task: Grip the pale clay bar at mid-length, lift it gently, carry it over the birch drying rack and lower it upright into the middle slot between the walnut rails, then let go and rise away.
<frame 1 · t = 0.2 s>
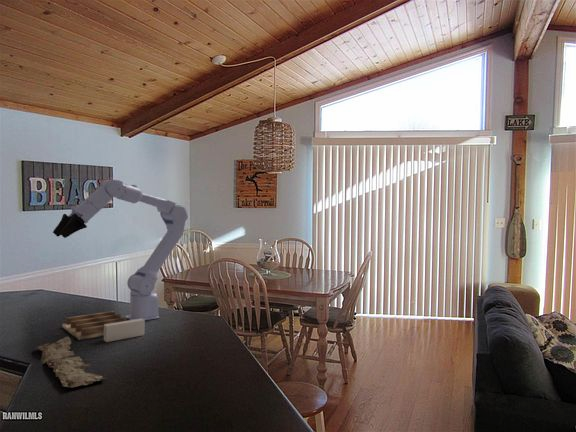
hand: (58, 235, 145), 31 cm above the kitchen island, tool tilted 45°, fingers open, 7 cm apart
clay bar: (124, 337, 144), on the kitchen island
drying rack: (99, 328, 152), on the kitchen island
rock fragment: (66, 367, 120), on the kitchen island
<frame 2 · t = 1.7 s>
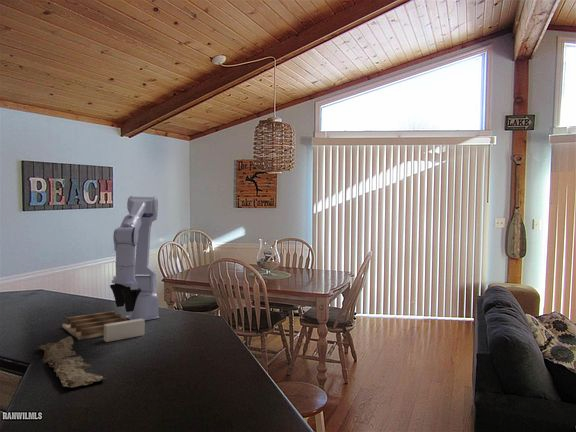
hand: (124, 308, 143), 9 cm above the kitchen island, tool pointing down, fingers open, 7 cm apart
nothing on the kitchen island moved.
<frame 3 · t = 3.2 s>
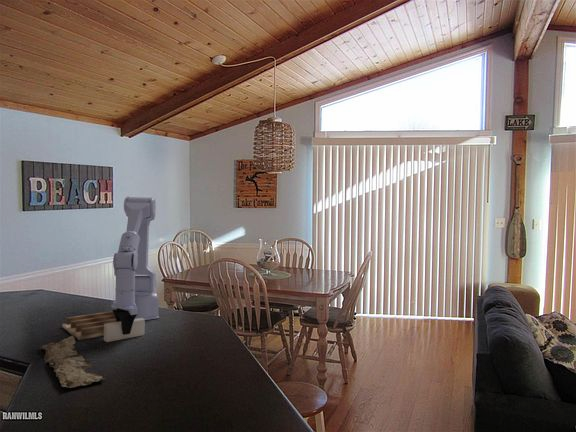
hand: (124, 332, 144), 1 cm above the kitchen island, tool pointing down, fingers closed on clay bar, 2 cm apart
clay bar: (124, 337, 144), on the kitchen island, touching gripper
everything else where it was.
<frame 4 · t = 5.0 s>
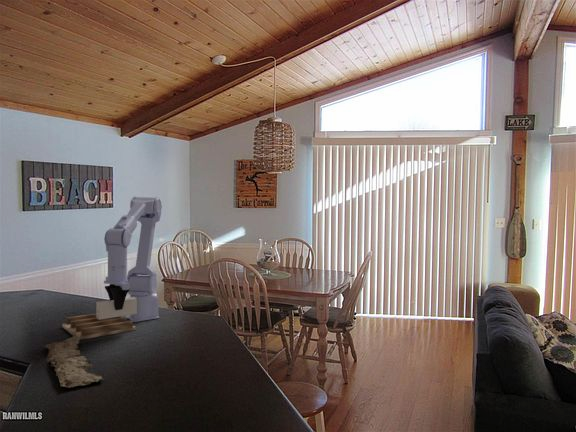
hand: (116, 308, 146), 8 cm above the kitchen island, tool pointing down, fingers closed on clay bar, 2 cm apart
clay bar: (116, 315, 146), point 6 cm above the kitchen island, touching gripper
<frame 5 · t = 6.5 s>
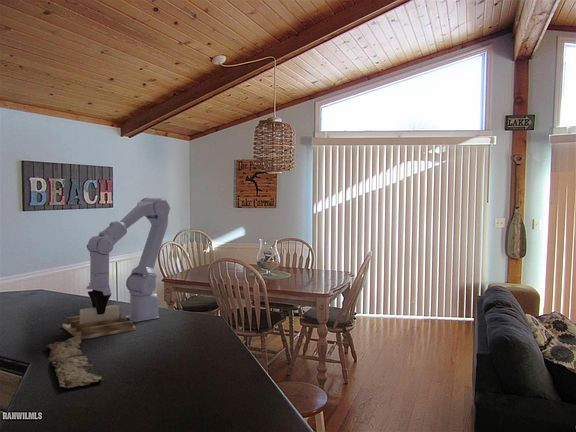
hand: (99, 313, 152), 5 cm above the kitchen island, tool pointing down, fingers closed on clay bar, 2 cm apart
clay bar: (99, 322, 152), point 2 cm above the kitchen island, touching gripper
when the fingers open (3 cm above the kitchen island, at t = 7.2 s): clay bar stays where it is, resting on drying rack.
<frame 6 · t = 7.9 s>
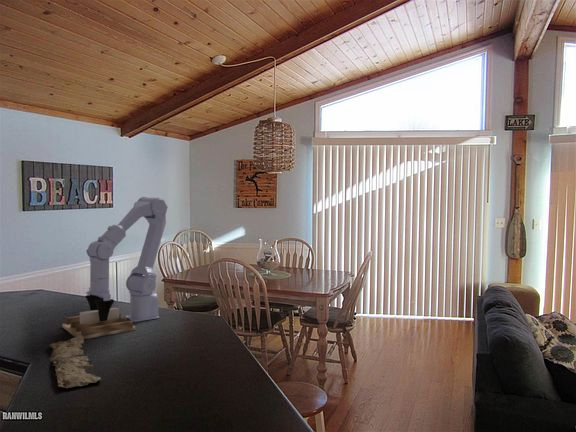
hand: (99, 318, 152), 3 cm above the kitchen island, tool pointing down, fingers open, 7 cm apart
clay bar: (99, 325, 152), point 1 cm above the kitchen island, touching drying rack
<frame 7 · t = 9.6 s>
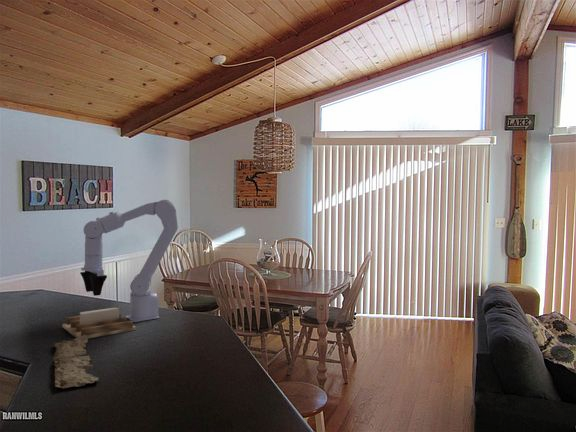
hand: (93, 293, 162), 9 cm above the kitchen island, tool pointing down, fingers open, 7 cm apart
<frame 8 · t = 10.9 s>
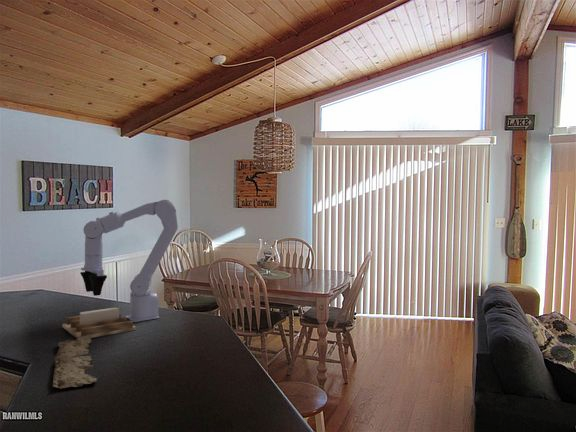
hand: (93, 293, 162), 9 cm above the kitchen island, tool pointing down, fingers open, 7 cm apart
at the end: clay bar 0.2 cm off-centre on the drying rack, point 1.0 cm above the drying rack's base; clay bar tilted 0°; the gripper is holding nothing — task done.
